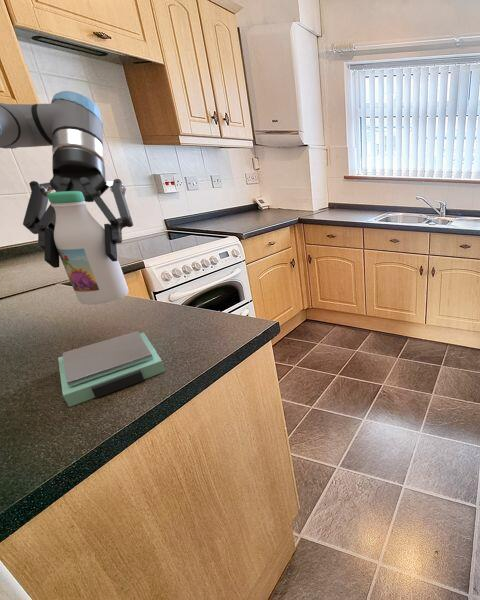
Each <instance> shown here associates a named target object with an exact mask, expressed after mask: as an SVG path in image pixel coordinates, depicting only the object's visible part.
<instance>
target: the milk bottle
mask: <svg viewBox="0 0 480 600" xmlns="http://www.w3.org/2000/svg"><path fill="white" fill-rule="evenodd" d="M47 197H48V202H49V203H50V204H51V206H53V207H54V209H55V213H56V223H55V229H54V241H55V245H56V248H57V250H58V253H59V259H60V260H61V263H62V266H63V267H64V270H65V273H66V275H67V277H68V279H69V281H70V284H71V287H72V289H73V291H74V294H75V296H76V298H77V300H78V302H80V303H81V304H82V305H87V306H88V305H89V306H92V305H93V306H94V305H100V304H101V305H102V304H106V303H111V302H114V301H118V300H121V299H122V298H124V297H126V296H127V295H128V294H129V292H130V291H129V287H128V284H127V281H126V279H125V275H124V272H123V270H122V267H121V265H120V261H119V259H118V257H117V261H113V262H112V260H111V259H110V258H109V257H108V256H107V255H106V247H105V230H104V226H102V225H101V224H100V223H99V222H98V221H97V220H96V218H94V216H93V215H92V214H91V213H90V211H89V210H88V208H87V206H86V204H87V202H85V198H84V195H83V193H82V192H80V191H63V192H56V191H54V192H52V191H51V193H48V194H47Z"/></svg>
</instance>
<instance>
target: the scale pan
mask: <svg viewBox="0 0 480 600" xmlns="http://www.w3.org/2000/svg"><path fill="white" fill-rule="evenodd" d="M62 356H63V359H64V365H65V372H66V378H67V383H68V385H69V387H71V386H74V385H77V384H80V383H83V382H86V381H88V380H91V379H94V378H97V377H100V376H103V375H106V374H109V373H112V372H115V371H118V370H121V369H123V368H126V367H129V366H132V365H135V364H138V363H141V362H144V361H147V360H150V359H153V356H152V354H151V352H150V351H149V349H148V347H147V346H146V344H145V342H144V341H143V339H142V337H141V336H140V332H139V331H138V330H136V331H133V332H129V333H125V334H122V335H119V336H116V337H113V338H109V339H106V340H102V341H99V342H95V343H91V344H88V345H85V346H81V347H78V348H74V349H71V350H67V351H64V352H62Z"/></svg>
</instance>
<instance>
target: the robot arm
mask: <svg viewBox="0 0 480 600" xmlns="http://www.w3.org/2000/svg"><path fill="white" fill-rule="evenodd" d="M103 131H104V123H103V120H102V115H101V111H100V109H99V106H98V105H97V104H95V102H94V101H93V100H92V99H90V98H89V97H87V96H85V95H84V94H81V93H79V92H75V91H71V90H62V91H59V92H57V93H55V94H54V95H53V96H52V99H51V102H50V103H34V104H32V103H31V104H27V103H25V104H24V103H23V104H22V103H19V104H16V103H3V102H0V149H12V150H14V149H17V148H37V147H50V146H52V149H51V154H52V157H51V158H52V159H51V160H52V162H51V163H52V165H51V166H52V167H51V168H52V178H51V179H50V180H49V182H44V183H39V182H38V181H35V180H32V181H30V182H29V183H28V185H29V187H30V190H31V192H30V196H29V199H28V202H27V206H26V211H25V214H24V217H23V222H22V226H24V227H25V228H26V229H28V231H29V232H30V233H32V234H33V235H37V244H38V246H39V247H40V248H41V249H42V250H43V251H44V255H43V256H44V261H45V262H46V264H48V265H49V266H51V267H52V268H54V269H57V268H60V256H59V253H58V250H57V248H56V245H55V241H54V229H55V223H56V213H55V209H54V207H53V206H51V203H50V204H49V199H48V197H47V194H48V193H52V191H54V192H63V191H80V192H82V193H83V195H84V198H85V202H86V203H95V205H97V207H98V208H99V209H100V212H102V214H103V215H104V217H105V218H106V220H107V221H108V223H104V224H103V228H104V230H105V247H106V255H107V256H108V257H109V258H110V259H111V260H112V262H113V261H117V258H118V248H117V245H118V244H122V243H123V231H122V230H123V229H124V228H131V227H133V226H134V222H133V219H132V216H131V213H130V210H129V206H128V204H127V199H126V197H125V194H126V191H127V189H126V187H125V185H124V183H123V182H122V180H121V179H119V178H114V179H113V181H111V180H110V181H109V180H107V179H106V166H105V152H104V151H105V150H104V149H105V148H104V135H103V133H104V132H103ZM108 189H109V190H110V192H111V193H112V194H113V198H114V200H115V204H116V208H117V210H118V214H119V217H117V218H116V217H115V215H114V214H113V212H112V211H111V209H110V208H109V207H108V205H107V204H106V203H105V201H104V200H103V198H102V197H101V196H102V195H103V194H105V192H106V191H107V190H108ZM48 204H49V206H48Z"/></svg>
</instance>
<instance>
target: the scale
mask: <svg viewBox="0 0 480 600" xmlns="http://www.w3.org/2000/svg"><path fill="white" fill-rule="evenodd" d="M139 334H140V336H141V337H142V339H143V341H144V342H145V344H146V346H147V347H148V349H149V351H150V352H151V354H152V356H153V359H150V360H147V361H144V362H141V363H138V364H135V365H132V366H129V367H126V368H123V369H121V370H118V371H115V372H112V373H109V374H106V375H103V376H100V377H97V378H94V379H91V380H88V381H86V382H83V383H80V384H77V385H74V386H71V387H69V385H68V383H67V378H66V372H65V365H64V359H63V355H62V356H58V357H57V360H58V361H57V362H58V370H59V375H60V377H59V378H60V385H61V391H62V397H63V399H64V401H65V403H66V405H67V407H68V408H71V407H74V406H76V405H79V404H81V403H84V402H87V401H89V400H93V399H98V398H101V397H103V396H107V395H109V394H112V393H114V392H118V391H120V390H122V389H125V388H128V387H132V386H133V385H135V384H139V383H141V382H144V381H145V380H146V379H150V378H151V377H154V376H157V375H160V374H162V373H165V372H166V369H165V366H164V363H163V360H162V359H161V357H160V355H159V354H158V353H157V351H156V349H155V347H154V346H153V344H152V343H151V341H150V340H149V338H148V336H147V335H146V334H145V332H139Z"/></svg>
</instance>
